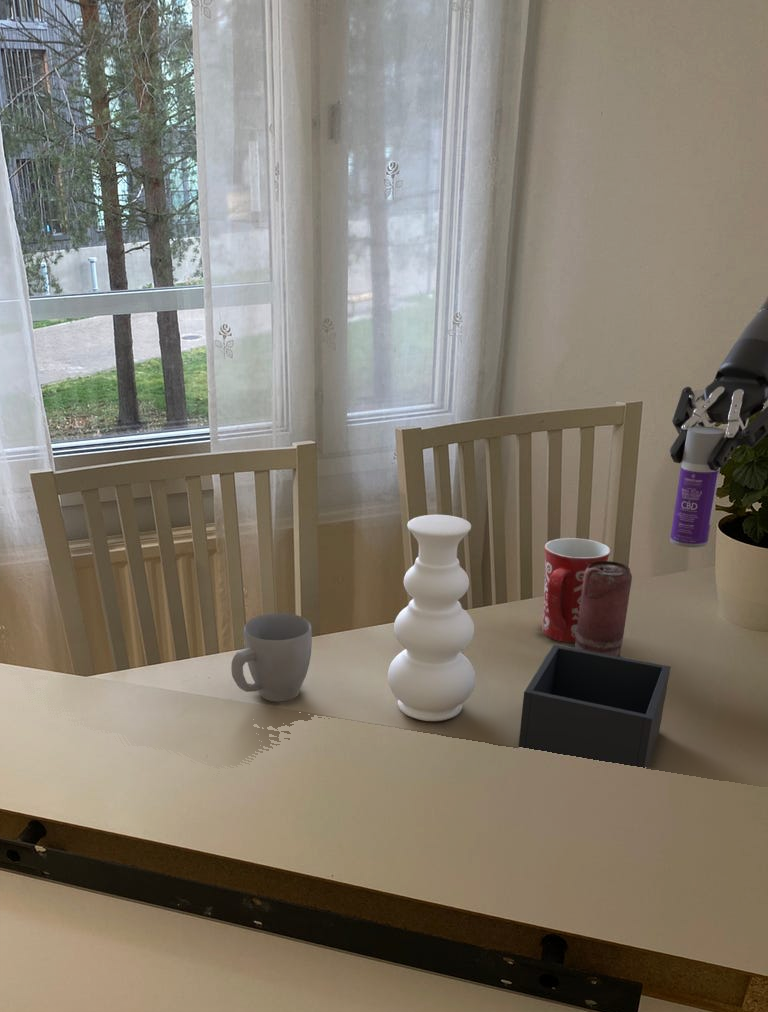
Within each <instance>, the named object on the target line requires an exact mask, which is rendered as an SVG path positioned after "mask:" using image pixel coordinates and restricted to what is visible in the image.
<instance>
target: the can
mask: <svg viewBox="0 0 768 1012" xmlns="http://www.w3.org/2000/svg"><path fill="white" fill-rule="evenodd" d="M632 580H633V576H632V573H631V568H630V567H629V566H628V565H626V564H624V563H621V562H617V561H611V560H607V561H597V562H592V563H590V564H589V565H588V567H587V568H586V570H585V571H584V578H583V586H582V594H581V602H580V610H579V618H578V625H577V633H576V641H575V642H574V648H575V649H580V650H585V651H591V652H596V653H601V654H607V655H612V656H618V657H621V654H622V647H623V640H624V634H625V628H626V622H627V621H626V620H627V614H628V608H629V607H628V606H629V600H630V593H631V586H632Z"/></svg>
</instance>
